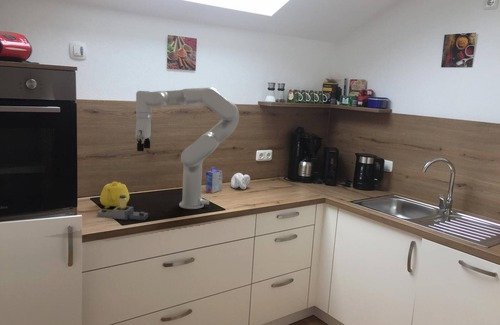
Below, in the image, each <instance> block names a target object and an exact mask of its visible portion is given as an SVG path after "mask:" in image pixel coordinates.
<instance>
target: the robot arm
mask: <svg viewBox="0 0 500 325" xmlns="http://www.w3.org/2000/svg"><path fill="white" fill-rule="evenodd" d="M135 93H136V94H135V95H136V96H135V97H136V98H135V108H136V109H135V111H136V112H135V119H136V122H135V136H134V137H135V139H136V151H137V152H144V151H145V150H144V149H151V136H152V135H151V134H152V129H151V128H152V127H151V123H152V122H151V120H152V117H153V116H152V114H153V110H152V109H153V108H152V107H155V108H159V107H165V106H167V107H169V106H184V107H193V106H207V107H208V108H209V109H210V110H211V111H213V113H215V114H216V115H217V116H219V118H221V119H220V120H219V121H218V122H217V123H216V124H215V125H214V126H213V127H211V128H210V129H209V130H207V132H205V133H203V134H202V135H200V137H198V138H196V140H195V141H194V142H192V143H191V144H190V145H189V146H187V147H186V148H184V149H183V151H182V152H181V155H180V163H182V164H183V167H182V168H183V170H182V171H183V172H182V196H181V197H182V200H181V201H180V202H179V206H178V207H180V208H182V209H187V210H197V209H198V210H199V209H202V208H204V205H210V201H209V199H204V198H203V196H202V178H203V163H204V160H206V158H208V157H210V155H211V154H212V153H214V152H215V150H216V149H217V148H218V146H219V145H221V143H222V142H224V141H225V140H226V139H227V138H228V137H229V136H231V135H232V133H233V132H234V131H235V130H236V129H237V127H238V125H239V121H240V112H239V109H238V105H236V103H234V102H230V101H229V100H228V99H227V98H226V97H224V96H223V95H222V94H221V93H220V92H219V90H218V89H217V88H215V87H212V86H210V87H198V88H197V87H196V88H195V87H194V88H193V87H192V88H190V87H189V88H183V89H178V90H176V89H175V90H158V91H157V90H156V91H150V90H138V91H136V92H135Z"/></svg>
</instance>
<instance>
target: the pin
mask: <svg viewBox="0 0 500 325" xmlns="http://www.w3.org/2000/svg"><path fill="white" fill-rule="evenodd" d="M126 206H127V204H126V195H120V210H126Z"/></svg>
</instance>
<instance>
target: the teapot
mask: <svg viewBox="0 0 500 325" xmlns="http://www.w3.org/2000/svg"><path fill="white" fill-rule="evenodd" d="M120 195H126V205H127V204H128V202H129V201H130V193H129V190H128V188H127V186H126V184H124V183H122V182H118V181H112V182H111V183H106V184H105V185H104V187H103V188H102V190H101V193H100V197H99V201H100V204H101V205H102V206H104V207H103V209H110V208H111V207H117V206H120Z"/></svg>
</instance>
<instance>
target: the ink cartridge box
mask: <svg viewBox="0 0 500 325" xmlns="http://www.w3.org/2000/svg"><path fill="white" fill-rule="evenodd" d="M222 190H223V170H222V169H221V170H220V169H216V167H215V166H211V167H210V170H209V171H205V192H206V193H210V194H213V193H217V192H220V191H222Z"/></svg>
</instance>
